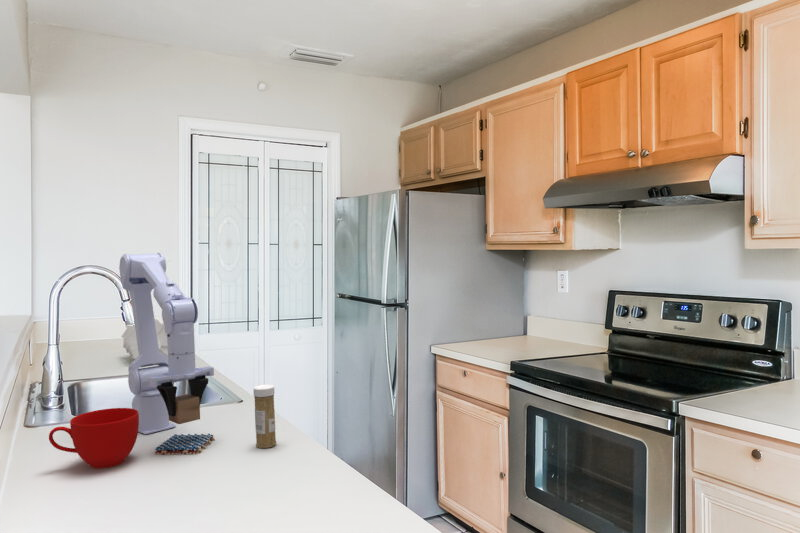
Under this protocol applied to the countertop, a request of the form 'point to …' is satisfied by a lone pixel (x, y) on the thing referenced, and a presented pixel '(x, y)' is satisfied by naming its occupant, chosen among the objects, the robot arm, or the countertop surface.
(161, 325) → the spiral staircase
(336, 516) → the countertop surface
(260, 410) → the sprinkles bottle
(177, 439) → the woven mat
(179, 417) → the walnut block
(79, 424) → the ceramic cup
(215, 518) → the countertop surface
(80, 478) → the countertop surface
